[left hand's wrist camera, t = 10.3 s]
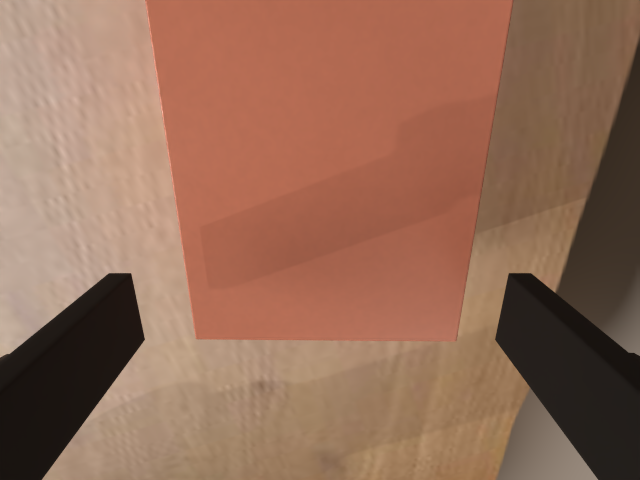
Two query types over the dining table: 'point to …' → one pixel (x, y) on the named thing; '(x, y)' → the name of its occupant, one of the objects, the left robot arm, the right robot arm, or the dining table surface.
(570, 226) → the dining table surface
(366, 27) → the cabinet
